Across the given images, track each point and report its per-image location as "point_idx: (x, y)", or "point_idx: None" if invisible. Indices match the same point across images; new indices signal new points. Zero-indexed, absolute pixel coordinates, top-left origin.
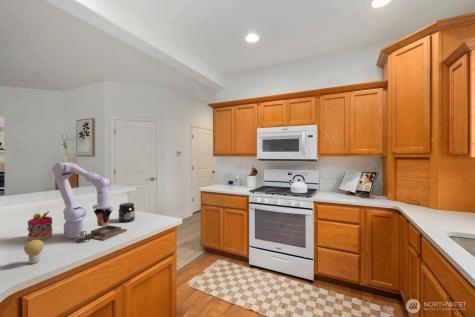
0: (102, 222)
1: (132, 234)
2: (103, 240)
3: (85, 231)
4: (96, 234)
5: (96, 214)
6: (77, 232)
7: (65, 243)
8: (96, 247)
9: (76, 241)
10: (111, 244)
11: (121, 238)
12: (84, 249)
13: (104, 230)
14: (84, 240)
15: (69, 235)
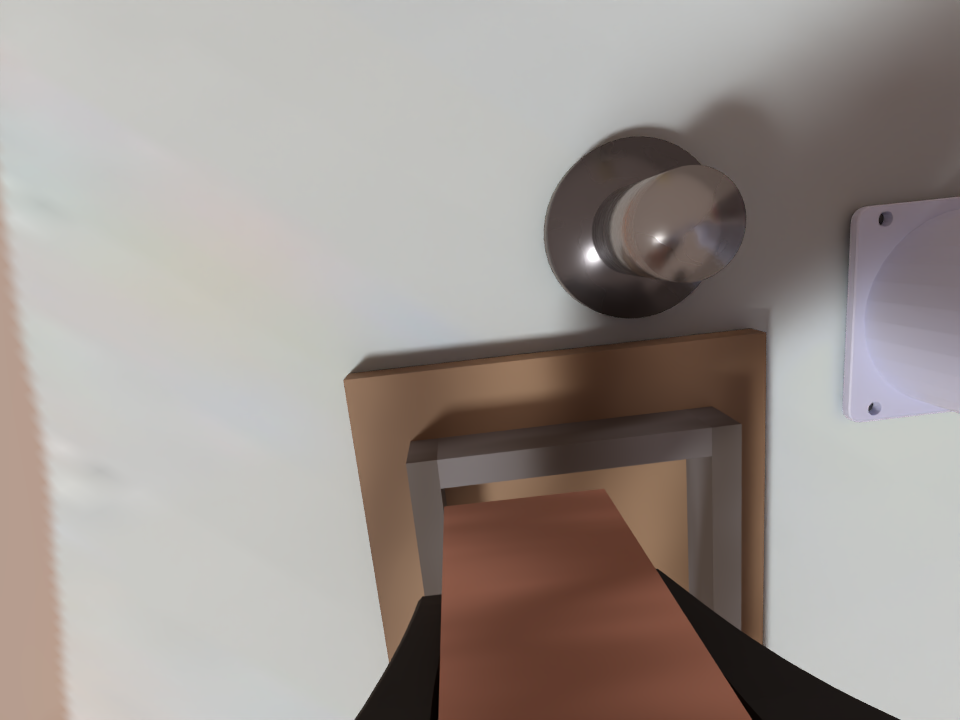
0: (444, 560)
1: (199, 691)
2: (351, 373)
3: (671, 265)
4: (598, 424)
5: (810, 706)
6: (920, 292)
7: (782, 43)
8: (183, 164)
9: (675, 150)
10: (97, 336)
11: (193, 536)
12: (270, 31)
13: None
14: (568, 211)
15: None
